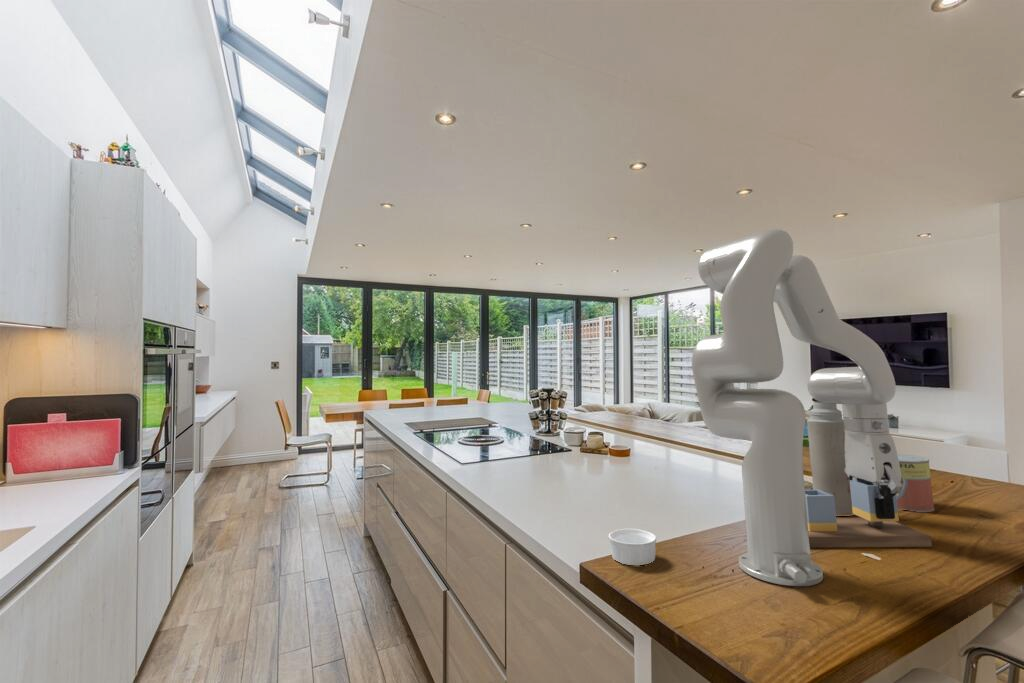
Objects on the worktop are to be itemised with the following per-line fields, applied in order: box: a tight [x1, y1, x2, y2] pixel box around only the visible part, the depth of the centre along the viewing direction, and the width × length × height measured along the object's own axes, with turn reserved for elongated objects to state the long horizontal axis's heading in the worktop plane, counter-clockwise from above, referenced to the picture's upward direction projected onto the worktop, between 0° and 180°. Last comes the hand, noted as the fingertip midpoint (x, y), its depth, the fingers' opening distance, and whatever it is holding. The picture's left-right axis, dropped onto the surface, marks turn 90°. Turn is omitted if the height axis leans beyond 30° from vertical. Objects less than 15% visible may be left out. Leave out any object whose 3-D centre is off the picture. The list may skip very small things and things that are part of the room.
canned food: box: [881, 453, 936, 513], centre depth 114 cm, size 11×11×12 cm
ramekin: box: [608, 528, 657, 566], centre depth 86 cm, size 9×9×4 cm
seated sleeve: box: [805, 489, 837, 531], centre depth 95 cm, size 5×5×7 cm
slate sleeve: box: [850, 480, 900, 522], centre depth 94 cm, size 5×5×7 cm
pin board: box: [808, 517, 933, 548], centre depth 94 cm, size 12×24×6 cm, turn 86°
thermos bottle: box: [806, 397, 853, 515], centre depth 111 cm, size 8×8×28 cm
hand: (874, 512), depth 94 cm, fingers closed on slate sleeve, 5 cm apart
